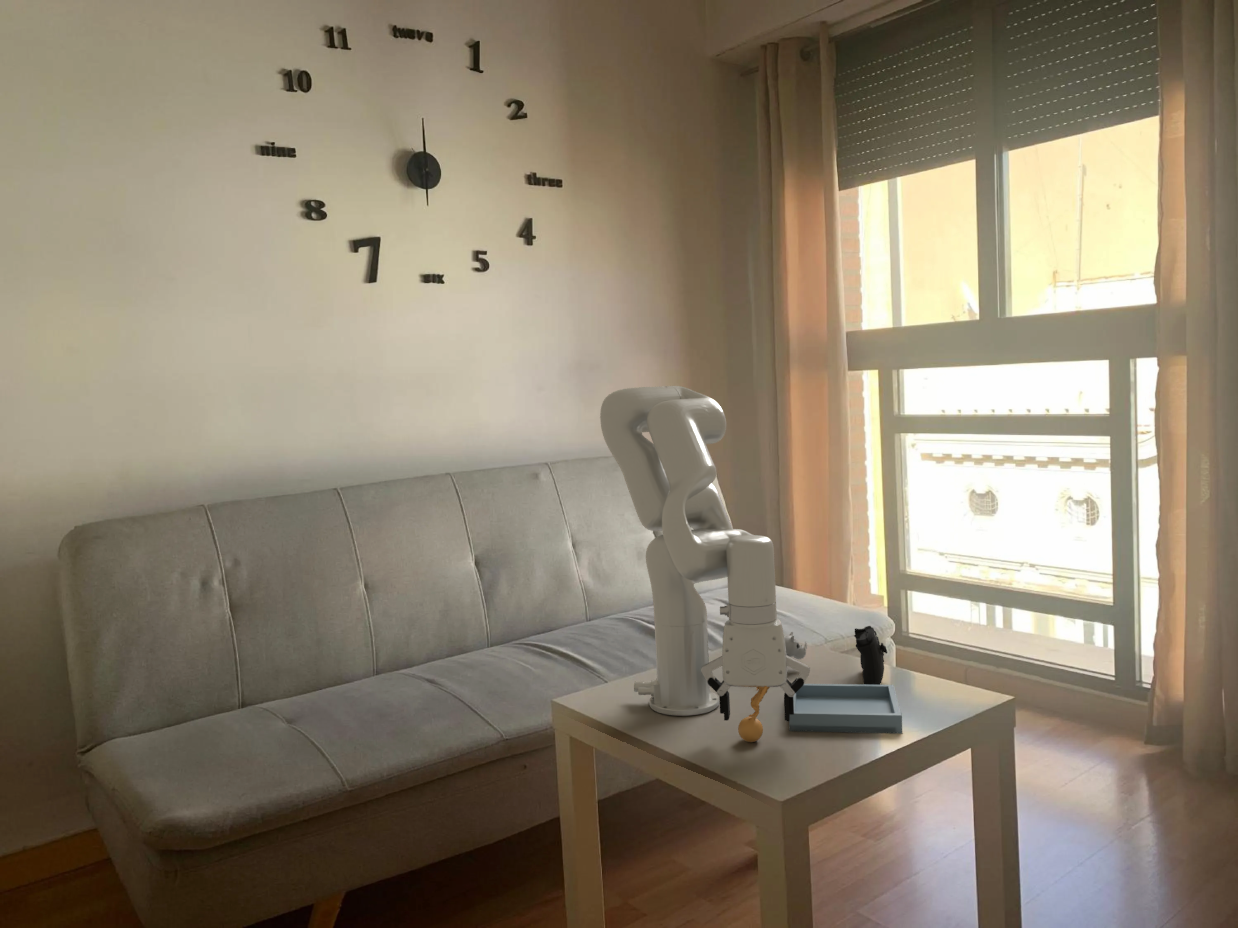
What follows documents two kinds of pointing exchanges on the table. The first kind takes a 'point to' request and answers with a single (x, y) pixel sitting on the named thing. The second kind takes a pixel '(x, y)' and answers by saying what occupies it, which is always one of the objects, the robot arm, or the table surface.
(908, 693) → the table surface
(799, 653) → the chubby cartoon animal
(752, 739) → the figurine
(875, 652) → the black elongated piece
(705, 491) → the robot arm
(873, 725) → the tray
